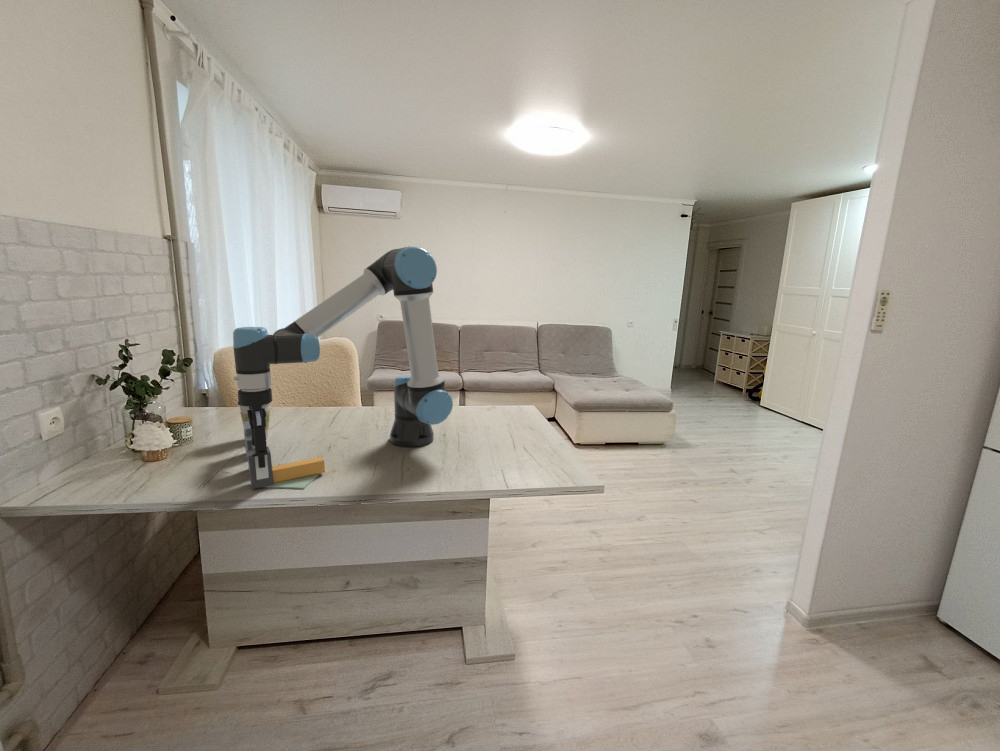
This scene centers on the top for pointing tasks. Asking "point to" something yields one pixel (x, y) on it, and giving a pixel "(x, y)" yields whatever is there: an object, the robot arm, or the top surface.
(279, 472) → the plug
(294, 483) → the mat
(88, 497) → the top surface
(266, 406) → the coffee cup
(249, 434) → the block
